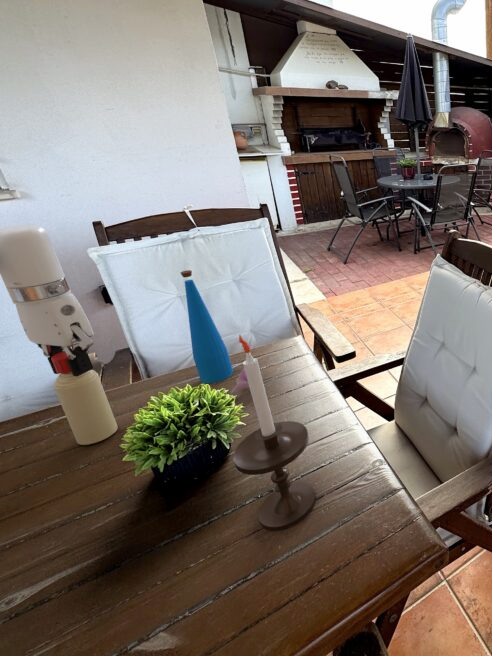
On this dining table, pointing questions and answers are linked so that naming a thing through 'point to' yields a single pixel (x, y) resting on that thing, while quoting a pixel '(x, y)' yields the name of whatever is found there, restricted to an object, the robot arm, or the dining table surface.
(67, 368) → the cap
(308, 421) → the dining table surface
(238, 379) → the lily
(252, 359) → the candlestick
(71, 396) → the sauce bottle
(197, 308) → the bottle
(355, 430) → the dining table surface
